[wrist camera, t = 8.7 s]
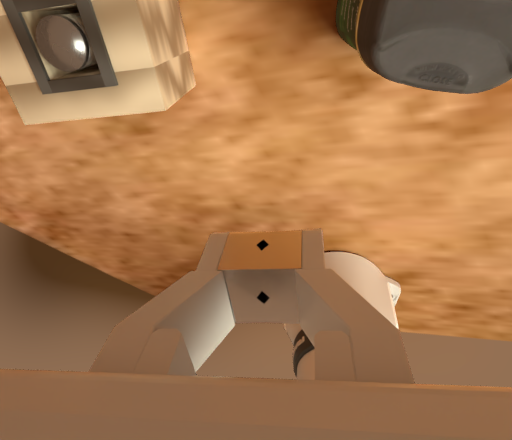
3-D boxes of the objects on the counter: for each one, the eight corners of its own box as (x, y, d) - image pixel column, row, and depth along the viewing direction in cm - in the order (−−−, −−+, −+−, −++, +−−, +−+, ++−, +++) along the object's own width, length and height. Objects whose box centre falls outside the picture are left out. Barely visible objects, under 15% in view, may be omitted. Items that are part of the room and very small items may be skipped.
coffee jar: (327, 44, 34) (346, 84, 18) (349, -57, 29) (400, -115, 14) (423, 60, 34) (524, 114, 18) (460, -39, 29) (636, -79, 14)
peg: (141, 51, 36) (93, 68, 28) (107, 56, 36) (49, 74, 28) (129, 7, 34) (72, 11, 25) (93, 13, 34) (26, 19, 26)
